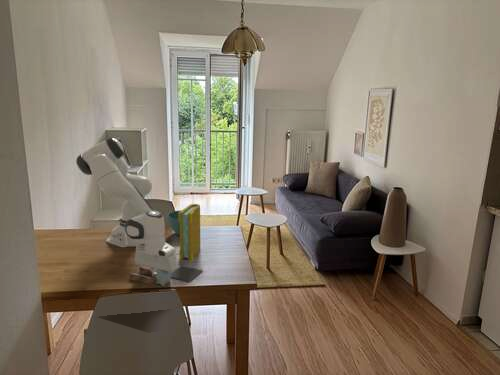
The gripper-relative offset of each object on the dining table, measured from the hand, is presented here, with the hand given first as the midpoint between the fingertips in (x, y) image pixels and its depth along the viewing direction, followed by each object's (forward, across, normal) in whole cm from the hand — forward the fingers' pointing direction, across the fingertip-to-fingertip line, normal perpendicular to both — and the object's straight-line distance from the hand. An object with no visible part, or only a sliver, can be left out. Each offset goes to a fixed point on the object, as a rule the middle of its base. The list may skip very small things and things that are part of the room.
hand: (155, 276), depth 167 cm
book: (+2, -2, +34) cm, 34 cm away
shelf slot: (+2, -5, 0) cm, 5 cm away
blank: (+2, +3, 0) cm, 4 cm away
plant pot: (+2, -22, +57) cm, 62 cm away
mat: (+2, +8, +12) cm, 14 cm away
